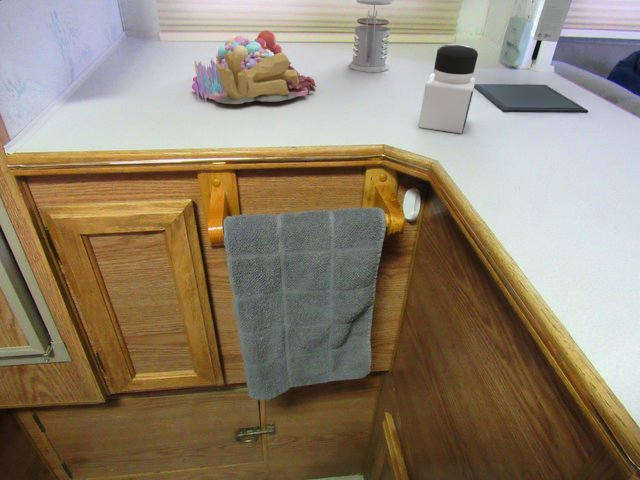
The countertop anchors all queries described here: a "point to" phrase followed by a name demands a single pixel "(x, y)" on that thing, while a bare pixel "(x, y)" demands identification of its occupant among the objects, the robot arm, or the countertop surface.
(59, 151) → the countertop surface
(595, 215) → the countertop surface
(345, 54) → the countertop surface
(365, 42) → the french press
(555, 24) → the cosmetic box
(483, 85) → the slate mat
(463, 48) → the medicine bottle
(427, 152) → the countertop surface
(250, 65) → the candy landscape model
